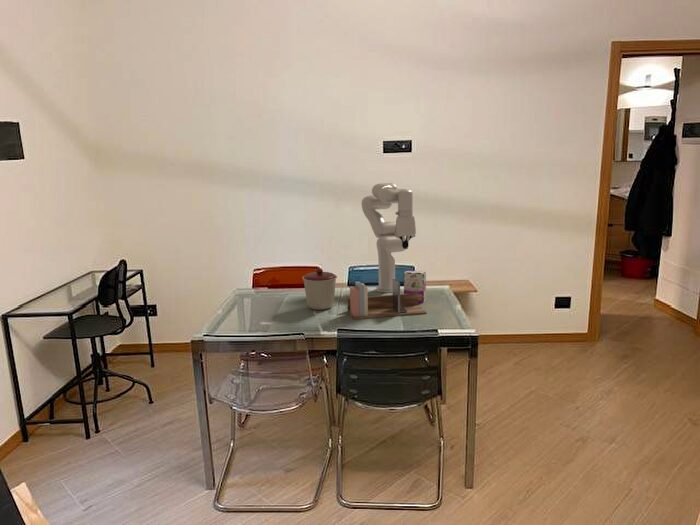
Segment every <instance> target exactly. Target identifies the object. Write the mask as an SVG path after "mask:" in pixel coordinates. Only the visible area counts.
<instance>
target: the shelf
mask: <svg viewBox="0 0 700 525" xmlns="http://www.w3.org/2000/svg"><path fill="white" fill-rule="evenodd" d="M346 300H347V313H348V314H349V316H350V317H351V318H352V319H353V320H354V321H355V320H364V319H375V318H376V319H378V318H390V317H404V316H414V315H415V316H416V315H427V311H426V310H425V309H424V308H422V307H421V306H420V305H419V302H418V293H413V294H404V293H402V294H401V293H400V306H403V307H404V308H405V309H406V310H407V312H400V313H398V312H397V311H396V310H395V309H394V308H393V294H389V295H388V294H386V295H373V296H368V316H357V317H354V316H353V314H352V313H351V309H350V297H347V299H346Z"/></svg>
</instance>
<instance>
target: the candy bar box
mask: <svg viewBox="0 0 700 525" xmlns="http://www.w3.org/2000/svg"><path fill="white" fill-rule="evenodd" d="M413 293H418V303H420V304H421V303H422V304H424V303H425V302H426V301H427V272H426V271H419V270H418V271H417V270H405V271H403V294H413Z"/></svg>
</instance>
